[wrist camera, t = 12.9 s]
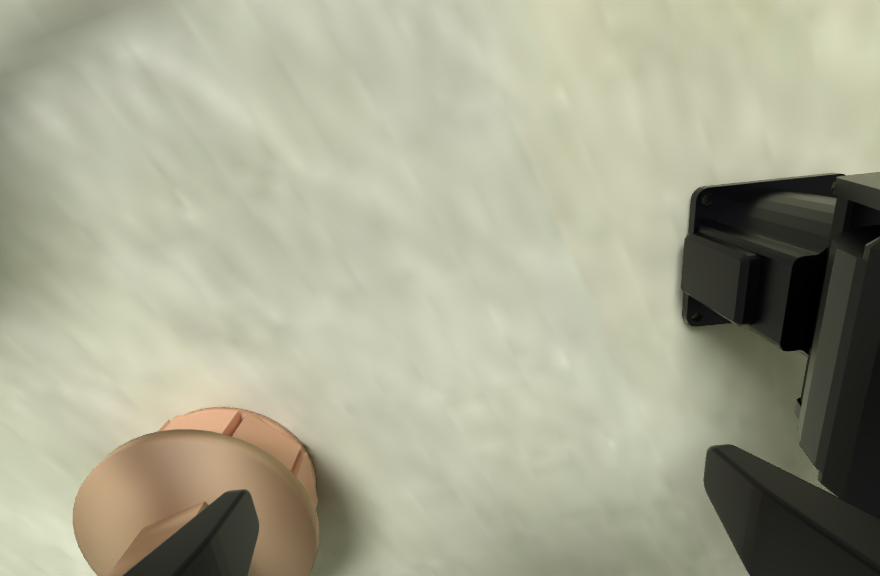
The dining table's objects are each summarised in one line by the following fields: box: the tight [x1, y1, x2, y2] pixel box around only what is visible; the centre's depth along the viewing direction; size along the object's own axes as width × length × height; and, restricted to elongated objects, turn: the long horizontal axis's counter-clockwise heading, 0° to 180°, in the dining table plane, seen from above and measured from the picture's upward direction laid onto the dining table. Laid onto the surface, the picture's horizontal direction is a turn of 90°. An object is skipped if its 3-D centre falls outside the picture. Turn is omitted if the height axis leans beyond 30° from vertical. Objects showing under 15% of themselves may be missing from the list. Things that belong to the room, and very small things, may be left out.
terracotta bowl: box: [158, 407, 318, 508], centre depth 23 cm, size 9×9×3 cm
